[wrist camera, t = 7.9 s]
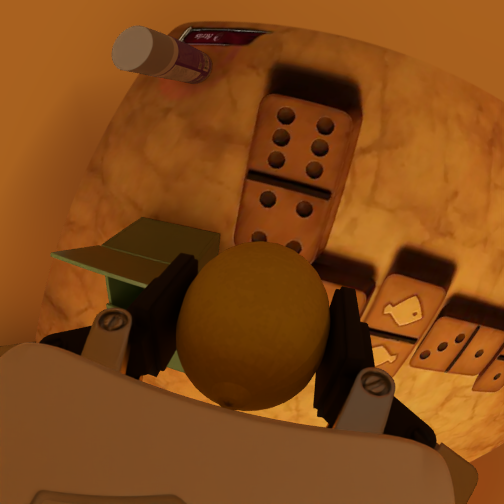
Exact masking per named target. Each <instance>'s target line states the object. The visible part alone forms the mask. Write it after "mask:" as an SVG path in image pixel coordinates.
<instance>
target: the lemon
mask: <svg viewBox="0 0 504 504" xmlns="http://www.w3.org/2000/svg"><path fill="white" fill-rule="evenodd" d="M330 322H331V321H330V309H329V301H328V296H327V293H326V290H325V288H324V285H323V283H322V281H321V279H320V277H319V275H318V273H317V272H316V271H315V269H314V268H313V267H312V266H311V265H310V263H309V262H308V261H307V260H306V259H305V258H304V257H302V256H301V255H299V254H298V253H296V252H295V251H294V250H292V249H290V248H287V247H285V246H282V245H280V244H277V243H270V242H263V241H259V242H248V243H242V244H240V245H237V246H234V247H231V248H229V249H226V250H225V251H223V252H222V253H220V254H219V255H218V256H216V257H215V258H213V259H212V260H211V261H209V262H208V263H207V264H206V265H205V266H204V267H203V268H202V270H201V271H200V272H199V274H198V275H197V276H196V278H195V279H194V280H193V281H192V283H191V284H190V286H189V288H188V290H187V292H186V294H185V297H184V300H183V303H182V306H181V309H180V313H179V316H178V320H177V326H176V346H177V353H178V357H179V360H180V363H181V365H182V368H183V370H184V372H185V374H186V375H187V377H188V378H189V379H190V381H191V382H192V383H193V385H194V386H195V387H196V388H197V389H198V390H199V391H200V392H201V393H202V394H203V395H205V396H206V397H207V398H209V399H210V400H212V401H213V402H215V403H217V404H219V405H220V406H221V407H223V408H227V409H231V410H241V411H257V410H263V409H268V408H272V407H275V406H277V405H280V404H282V403H284V402H286V401H288V400H290V399H291V398H293V397H294V396H295V395H297V394H298V393H299V392H300V391H302V390H303V389H304V388H305V387H306V386H307V384H308V383H309V381H310V380H311V378H312V377H313V375H314V374H315V372H316V371H317V369H318V367H319V365H320V363H321V361H322V358H323V356H324V353H325V349H326V345H327V341H328V336H329V331H330Z"/></svg>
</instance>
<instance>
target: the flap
mask: <svg viewBox="0 0 504 504" xmlns="http://www.w3.org/2000/svg"><path fill="white" fill-rule="evenodd" d="M51 257H54V258H57V259H59V260H62V261H65V262H68V263H70V264H73V265H76V266H79V267H82V268H85V269H87V270H90V271H93V272H96V273H99V274H102V275H105V276H108V277H111V278H114V279H117V280H120V281H123V282H126V283H130V284H133V285H136V286H139V287H142V288H146V287H147V286H148V285H149V283H150V282H151V281H152V280H153V279H154V278H156V277H159V276H160V275H161V273H162V272H163V271H164V270H165V269H166V268H167V267H168V266H169V264H166V263H162V262H158V261H154V260H150V259H147V258H143V257H139V256H135V255H132V254H128V253H124V252H121V251H117V250H114V249H110V248H106V247H103V246H99V245H98V246H91V247H84V248H78V249H71V250H64V251H58V252H52V253H51Z"/></svg>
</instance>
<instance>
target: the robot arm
mask: <svg viewBox="0 0 504 504" xmlns="http://www.w3.org/2000/svg"><path fill="white" fill-rule="evenodd" d="M197 275H198V260H197V259H195V257H194V255H190V254H186V253H180V254H179V255H178V256H177V257H176V258H175V259H174V260H173V261H172V262H171V264H170V265H169V266H168V267H167V268H166V269H165V270H164V271H163V272H162V273H161V275H160V276H159V277H156V278H154V279H153V280H152V281H151V282H150V283H149V285H148V286H147V287H146V288H145V289H144V290H143V291H142V292H141V293H140V295H139V296H138V297H137V298H136V299H135V300H134V301H133V302H132V304H131V305H130V306H129V307H128V308H127V309H126V310H124V309H122V308H108V309H105V310H103V311H101V312H100V313H99V314H97V316H96V318H95V320H94V322H93V325H92V326H88V327H84V328H79V329H74V330H69V331H64V332H60V333H55V334H51V335H48V336H46V337H44V338H43V339H42V340H41V341H40V343H36V342H29V343H22V344H14V345H8V346H0V504H467V502H468V500H469V498H470V496H471V495H472V493H473V491H474V489H475V486H476V485H477V482H478V473H477V470H476V468H474V466H473V465H471V464H470V463H469V462H467V461H466V460H465V459H463V458H462V457H461V456H459V455H458V454H457V453H455V452H454V451H453V450H451V449H450V448H449V447H447V446H446V445H445V444H443V443H441V444H440V445H439V444H438V443H436V435H435V433H434V431H433V430H432V429H431V428H430V427H429V426H428V425H427V424H426V423H425V422H424V421H422V420H421V419H420V418H419V417H418V416H416V415H415V414H414V413H413V412H412V411H411V410H409V409H408V408H407V407H406V406H405V405H404V404H402V403H401V402H400V401H399V400H398V399H396V398H395V397H394V392H395V383H394V380H393V378H392V377H391V376H390V375H389V374H388V373H387V372H386V371H384V370H382V369H379V368H375V365H374V358H373V351H372V344H371V338H370V332H369V326H368V324H367V323H364V322H360V316H359V309H358V303H357V297H356V291H355V289H352V288H347V287H341V289H340V290H339V289H336V290H335V293H334V296H333V299H332V302H331V305H330V308H329V309H330V321H331V322H330V331H329V336H328V341H327V345H326V349H325V353H324V356H323V358H322V361H321V363H320V365H319V367H318V369H317V371H316V378H315V392H314V404H313V408H316V409H318V411H317V417H323V418H324V419H325V420H326V421H327V422H328V424H327V426H326V428H325V427H317V426H310V425H304V424H297V423H292V422H286V421H281V420H275V419H270V418H265V417H261V416H256V415H252V414H247V413H243V412H239V411H235V410H231V409H227V408H223V407H219V406H216V405H212V404H209V403H205V402H202V401H198V400H195V399H192V398H189V397H185V396H182V395H179V394H176V393H173V392H170V391H167V390H164V389H161V388H158V387H156V386H153V385H150V384H147V383H145V382H142V380H143V375H147V374H149V375H152V376H155V377H157V375H158V374H159V372H160V370H161V371H164V370H165V369H166V367H167V365H168V364H169V362H170V360H171V358H172V357H173V355H174V353H175V351H176V350H177V346H176V326H177V320H178V316H179V313H180V309H181V306H182V303H183V300H184V297H185V294H186V292H187V290H188V288H189V286H190V284H191V283H192V281H193V280H194V279H195V278H196V276H197Z"/></svg>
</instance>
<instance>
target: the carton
mask: <svg viewBox="0 0 504 504" xmlns="http://www.w3.org/2000/svg"><path fill="white" fill-rule="evenodd" d="M219 243H220V234H219V233H214V232H210V231H205V230H200V229H196V228H191V227H186V226H182V225H177V224H172V223H167V222H163V221H158V220H153V219H148V218H144V217H141V218H140V219H138V220H137V221H135V222H134V223H132V224H131V225H129V226H128V227H126V228H125V229H123V230H122V231H120V232H119V233H118V234H116V235H115V236H113V237H112V238H110V239H109V240H108V241H106V242H105V243H103V244H102V246H103V247H106V248H110V249H114V250H117V251H121V252H124V253H128V254H132V255H135V256H139V257H143V258H147V259H150V260H154V261H158V262H162V263H166V264H169V265H170V264H171V262H172V261H173V260H174V259H175V258H176V257H177V256H178V255H179V254H180V253H186V254H190V255H194V257H195V259H197V260H198V274H199V272H200V271H201V270H202V268H203V267H204V266H205V265H206V264H207V263H208V262H209V261H211V260H212V259H213V258H215V257H216V256H218V252H219ZM105 278H106V285H107V292H108V298H109V303H107V304H106V306H107V309H108V308H122V309H124V310H126V309H127V308H128V307H129V306H130V305H131V304H132V302H133V301H134V300H135V299H136V298H137V297H138V296H139V295H140V293H141V292H142V291H143V290H144V289H145V288H142V287H139V286H136V285H133V284H130V283H126V282H123V281H120V280H117V279H114V278H111V277H108V276H105ZM167 367H169V368H171V369H174V370H177V371H180V372H183V373H185V372H184V370H183V368H182V365H181V363H180V360H179V357H178V353H177V350H176V351H175V353H174V355H173V357H172V358H171V360H170V362H169V364H168V365H167Z"/></svg>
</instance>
